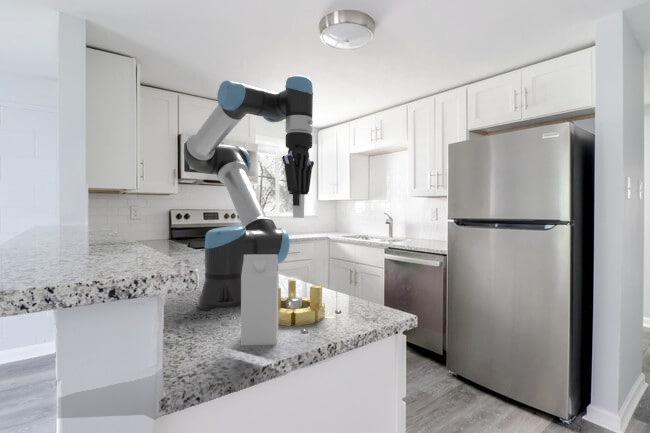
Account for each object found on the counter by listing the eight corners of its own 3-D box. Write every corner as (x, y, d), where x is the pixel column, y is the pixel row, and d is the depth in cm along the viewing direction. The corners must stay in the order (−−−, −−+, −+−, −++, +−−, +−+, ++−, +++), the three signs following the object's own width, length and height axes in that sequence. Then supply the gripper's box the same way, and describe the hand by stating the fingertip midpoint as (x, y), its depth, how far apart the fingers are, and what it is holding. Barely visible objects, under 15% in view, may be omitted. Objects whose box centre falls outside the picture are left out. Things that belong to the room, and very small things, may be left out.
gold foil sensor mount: (310, 328, 79) (310, 293, 79) (253, 321, 84) (253, 288, 83) (330, 310, 93) (330, 281, 93) (280, 305, 98) (280, 277, 98)
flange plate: (237, 325, 84) (237, 302, 84) (284, 305, 102) (284, 287, 102) (306, 340, 75) (306, 315, 75) (345, 316, 92) (345, 295, 92)
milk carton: (245, 338, 76) (246, 252, 76) (278, 337, 76) (278, 252, 76) (240, 351, 69) (241, 256, 68) (276, 350, 69) (276, 256, 69)
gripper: (297, 127, 89) (296, 218, 89) (322, 137, 100) (321, 217, 101) (274, 130, 92) (273, 217, 93) (300, 139, 104) (299, 217, 104)
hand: (298, 217), depth 97 cm, fingers closed
